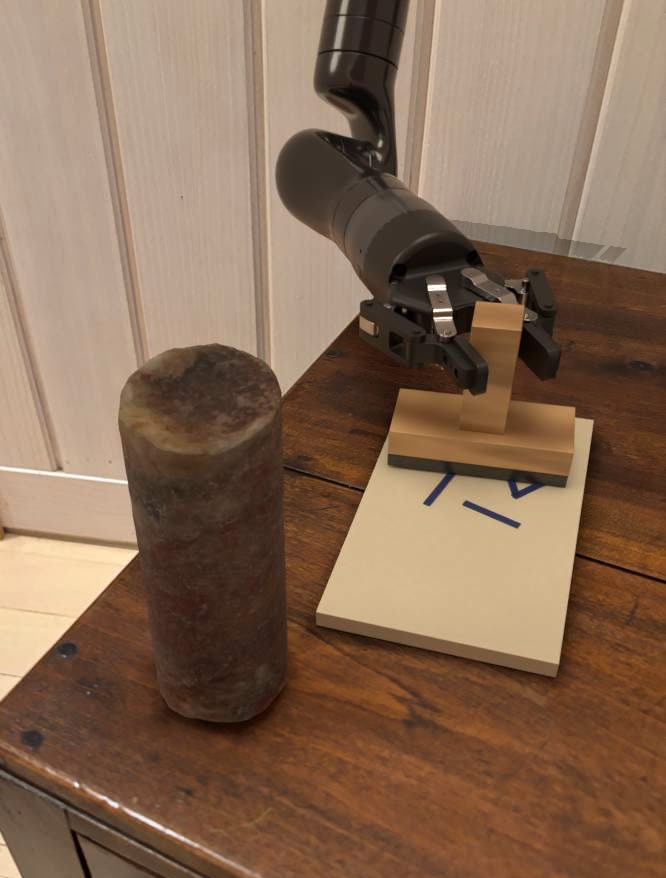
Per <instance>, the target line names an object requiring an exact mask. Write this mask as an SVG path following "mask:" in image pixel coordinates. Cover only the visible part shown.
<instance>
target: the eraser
mask: <svg viewBox="0 0 666 878" xmlns="http://www.w3.org/2000/svg"><path fill="white" fill-rule="evenodd" d="M524 308H525V306H524V305H515V304H503V303H492V302H481V301H476V304H475V310H474V315H473V321H472V326H471V333H470V335H469V341H468V342H469V343H470V344H471V346H472V347H473V348H474V349H475V350H476V351H477V352H478V353H479V354H480V356H481V357H482V358H483V359H484V360H485V361H486V362H487V364H488V368H489V375H488V382H487V390H486V393H485V394H480V395H475V396H473V395H472V394H471V393H470V392H469V391H468V389H466V390H464V389H462V394H456V393H446V392H437V391H429V390H420V389H412V388H411V389H409V388H402V387H401V388H399V391H398V396H397V399H396V404H395V407H394V411H393V414H392V419H391V423H390V427H389V430H388V434H389V443H388V459H387V465H393V466H401V467H409V468H417V469H425V470H433V471H441V472H448V473H456V474H464V475H472V476H480V477H488V478H496V479H503V480H511V481H519V482H527V483H535V484H543V485H551V486H559V487H566V483H567V479H568V475H569V471H570V467H571V463H572V459H573V455H574V434H575V417H576V407H575V406H567V405H557V404H549V403H540V402H539V403H538V402H530V401H521V400H512V399H511V396H512V391H513V385H514V378H515V375H516V374H515V372H516V368H517V362H518V358H519V357H518V351H519V345H520V339H521V333H522V326H523V317H524Z"/></svg>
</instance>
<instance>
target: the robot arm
mask: <svg viewBox="0 0 666 878" xmlns="http://www.w3.org/2000/svg"><path fill="white" fill-rule="evenodd" d="M410 3H411V0H326V1H325V6H324V12H323V17H322V18H323V19H322V23H321V28H320V35H319V39H318V47H317V50H316V51H317V52H316V58H315V64H314V70H313V77H312V78H313V79H312V87H313V91H314V93H315V95H316V96H317V98H319V99H320V100H321V101H322V102H324V103H325V104H327V105H329V106H330V107H332V108H333V109H335V110H337V111H338V112H339V113H340V114H342V116H343V117H344V118H345V119H346V120H347V124H348V127H349V132H350V135H351V136H347V135H343V134H340V133H336V132H333V131H329V130H326V129H321V128H312V127H311V128H305V129H302V130H299V131H298V132H296V133H293V135H292V136H290V137H289V138H288V139H287V140H286V142H285V143H284V144H283V145H282V147H281V149H280V150H279V153H278V155H277V157H276V162H275V166H274V182H275V188H276V192H277V195H278V197H279V200H280V202H281V203H282V206H283V207H284V209H286V211H287V212H288V213H289V214H290V215H291V216H293V217H294V218H295V219H297V221H299V222H300V223H301V224H303V225H305V226H306V227H308V228H309V229H310V230H312V231H314V232H316V233H317V234H319V235H321V236H322V237H324V238H326V239H327V240H329V241H331V242H333V243H334V244H335V245H336V247H337V248H338V249H339V250H340V252H341V253H342V254H343V256H345V258H346V259H347V260H348V261H349V263H350V264H351V267H352V269H353V271H354V273H355V274H356V277H358V279H359V280H360V282H361V283H362V284H363V285H364V286H365V288H366V289H367V290H368V292H369V293H370V295H372V297H373V298H374V299H364V300H361V301H360V302H359V328H358V332H359V333H358V337H359V339H361V340H362V341H364V342H366V343H367V344H369V345H371V346H372V347H374V348H375V349H377V350H378V351H380V352H381V353H383V354H384V355H386V356H388V357H389V358H391V359H393V360H394V361H395V362H397V363H398V364H400V365H402V366H403V367H405V368H406V369H408V370H412V371H416V370H418V371H419V370H421V369H422V368H424V366H425V364H433V365H434V367H435V368H437V369H438V370H443V371H445V373H446V374H447V375H448V376H449V378H451V380H452V381H453V382H454V384H455V385H456V386H457V387H458V388H460V389H462V390H463V389H464V390H466V389H468V391H469V392H470V393H471V394H472V395H473V396H475V395H480V394H485V393H486V390H487V382H488V375H489V368H488V364H487V362H486V361H485V360H484V359H483V358H482V357H481V356H480V354H479V353H478V352H477V351H476V350H475V349H474V348H473V347H472V346H471V344H470V343H469V342H470V341H468V340H467V339H466V337H465V336H464V335H463V334H468V333H470V334H471V326H472V321H473V315H474V310H475V304H476V301H481V302H492V303H503V304H515V305H524V306H525V308H524V317H523V326H522V333H521V339H520V345H519V351H518V357H517V358H519V359H520V360H521V361H522V362H523V364H525V365H526V366H527V368H529V370H530V371H531V372H532V373H533V374H534V375H535V376H536V377H537V378H538V379H539V380H540V381H541V382H546V381H547V382H548V381H550V380H551V381H552V380H555V378H556V377H557V372H558V371H559V367H560V364H561V363H560V362H561V358H562V353H563V351H562V350H563V349H562V346H561V345H560V344H559V342H557V341H556V340H555V338H554V328H555V321H556V316H557V314H558V310H559V305H558V303H557V300H556V298H555V296H554V295H555V294H554V293H553V290H552V287H551V285H550V283H549V279H548V277H547V276H546V275H547V274H546V273H545V271H544V270H543V269H541V268H538V267H537V268H535V267H531V268H529V269H527V270H526V273H525V277H523V278H522V279H505V278H504V276H503V274H501V273H500V272H497V271H495V270H492V269H489V268H487V267H486V266H485V264H484V262H483V259H482V258H481V256H480V253H479V251H478V249H477V247H476V246H475V245H474V243H473V242H472V241H471V240H470V239H469V238H468V237H467V236H466V235H465V234H464V233H463V232H462V231H460V229H458V228H457V226H455V225H454V224H453V223H452V222H451V221H450V220H449V219H448V218H447V217H446V216H444V215H443V214H442V213H441V212H440V211H439V210H438V209H437V208H436V207H435V206H434V205H432V204H431V203H429V201H427V200H426V199H424V198H422V197H420V196H418V195H417V194H416V193H415V192H413V190H411V189H410V188H409V187H408V186H407V185H406V184H405V183H404V182H403V181H402V180H400V179H399V160H398V143H397V127H396V98H395V97H396V93H395V92H396V82H397V77H398V71H399V68H400V67H399V66H400V62H401V57H402V51H403V46H404V45H403V44H404V41H405V35H406V29H407V25H408V24H407V23H408V16H409V12H410V11H409V10H410ZM404 340H406V341H405V342H406V343H405V342H404Z"/></svg>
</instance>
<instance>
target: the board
mask: <svg viewBox="0 0 666 878" xmlns="http://www.w3.org/2000/svg"><path fill="white" fill-rule="evenodd" d="M594 422H595V420H594V419H588V418H581V417H576V416H575V434H574V455H573V459H572V463H571V467H570V471H569V475H568V479H567V483H566V487H559V486H551V485H543V484H535V483H527V482H519V481H511V480H503V479H496V478H488V477H480V476H472V475H464V474H456V473H448V472H441V471H433V470H425V469H417V468H409V467H401V466H393V465H387V459H388V443H389V433H387V436H386V439H385V441H384V444H383V445H382V449H381V451H380V454H379V456H378V458H377V461H376V463H375V465H374V468H373V470H372V472H371V475H370V478H369V480H368V483H367V484H366V485H367V486H366V488H365V490H364V493H363V495H362V498H361V500H360V503H359V505H358V507H357V510H356V512H355V515H354V517H353V520H352V522H351V525H350V527H349V529H348V532H347V535H346V537H345V539H344V542H343V544H342V547H341V549H340V551H339V555H338V556H337V559H336V561H335V563H334V566H333V569H332V571H331V573H330V576H329V579H328V581H327V584H326V586H325V589H324V591H323V594H322V595H321V598H320V601H319V603H318V606H317V608H316V611H315V625H316V626H318V627H323V628H328V629H333V630H337V631H341V632H347V633H351V634H355V635H359V636H365V637H368V638H372V639H373V638H374V639H378V640H383V641H387V642H392V643H397V644H400V645H405V646H410V647H414V648H419V649H423V650H428V651H433V652H437V653H441V654H446V655H450V656H456V657H460V658H465V659H468V660H473V661H478V662H483V663H488V664H492V665H497V666H500V667H505V668H510V669H514V670H519V671H524V672H528V673H532V674H537V675H542V676H546V677H551V678H556V677H557V674H558V670H559V666H560V662H561V661H560V660H561V654H562V647H563V640H564V632H565V625H566V619H567V611H568V605H569V598H570V591H571V583H572V578H573V569H574V563H575V556H576V550H577V549H576V548H577V541H578V536H579V535H578V534H579V529H580V521H581V513H582V507H583V501H584V493H585V488H586V487H585V485H586V481H587V480H586V479H587V472H588V467H589V466H588V465H589V459H590V452H591V451H590V450H591V443H592V437H593V430H594Z"/></svg>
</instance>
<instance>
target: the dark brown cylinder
mask: <svg viewBox="0 0 666 878" xmlns="http://www.w3.org/2000/svg"><path fill="white" fill-rule="evenodd" d="M282 394H283V393H282V390H281V386H280V383H279V380H278V377H277V374H276V373H275V371H274V370H273V369H272V368H271V366H270V365H269V364H268V363H267V362H266V361H264V360H263V359H262V358H259V357H257V356H254V355H253V354H251V353H249V352H247V351H245V350H242V349H238V348H235V347H234V346H230V345H225V344H221V343H218V342H214V343H209V344H197V345H193V346H186V347H173V348H171V349H167V350H164V351H163V352H161V353H159V354H157V355H155V356H154V357H151V358H149V359H147V361H146V362H144V363H142V365H141V366H140V367H139V369H136V370H134V372H133V373H131V374H130V376H128V378H127V380H126V382H125V384H124V386H123V388H122V389H121V392H120V394H119V407H118V413H117V415H118V417H117V425H118V431H119V436H120V442H121V448H122V449H121V450H122V453H123V454H122V456H123V461H124V468H125V469H124V470H125V475H126V481H127V489H128V494H129V498H130V505H131V512H132V513H131V515H132V520H133V526H134V531H135V537H136V542H137V543H136V544H137V550H138V555H139V562H140V563H139V564H140V569H141V575H142V581H143V588H144V595H145V602H146V603H145V604H146V609H147V616H148V622H149V623H148V624H149V631H150V638H151V645H152V652H153V657H154V665H155V671H156V677H157V683H158V688H159V692H160V695H161V698H162V699H163V700H164V701H165V703H166V705H167V706H168V708H170V709H171V710H172V711H173V712H175V713H178V714H179V715H180V716H182V717H185V718H188V719H193V720H195V719H196V720H203V721H207V722H214V723H227V724H228V723H229V724H230V723H240V722H245V721H248V720H251V719H252V718H253V717H255V716H258V715H260V714H261V713H263V712H264V711H265V710H267V709H268V707H269V706H270V705H271V703H273V702H274V700H275V699H276V697H278V695H279V694H280V693H281V691H282V689H283V688H284V686H285V685H286V682H287V678H288V674H289V667H288V666H289V663H288V661H289V659H288V656H289V654H288V653H289V649H288V648H289V647H288V646H289V645H288V643H289V642H288V640H289V639H288V636H289V634H288V632H289V631H288V607H287V606H288V604H287V603H288V602H287V568H286V567H287V566H286V546H285V545H286V542H285V541H286V540H285V539H286V538H285V519H284V516H285V515H284V514H285V513H284V512H285V507H284V504H285V503H284V502H285V501H284V496H285V495H284V494H285V493H284V492H285V491H284V489H285V488H284V487H285V482H284V481H285V480H284V445H283V444H284V443H283V429H284V427H283V395H282Z"/></svg>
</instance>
